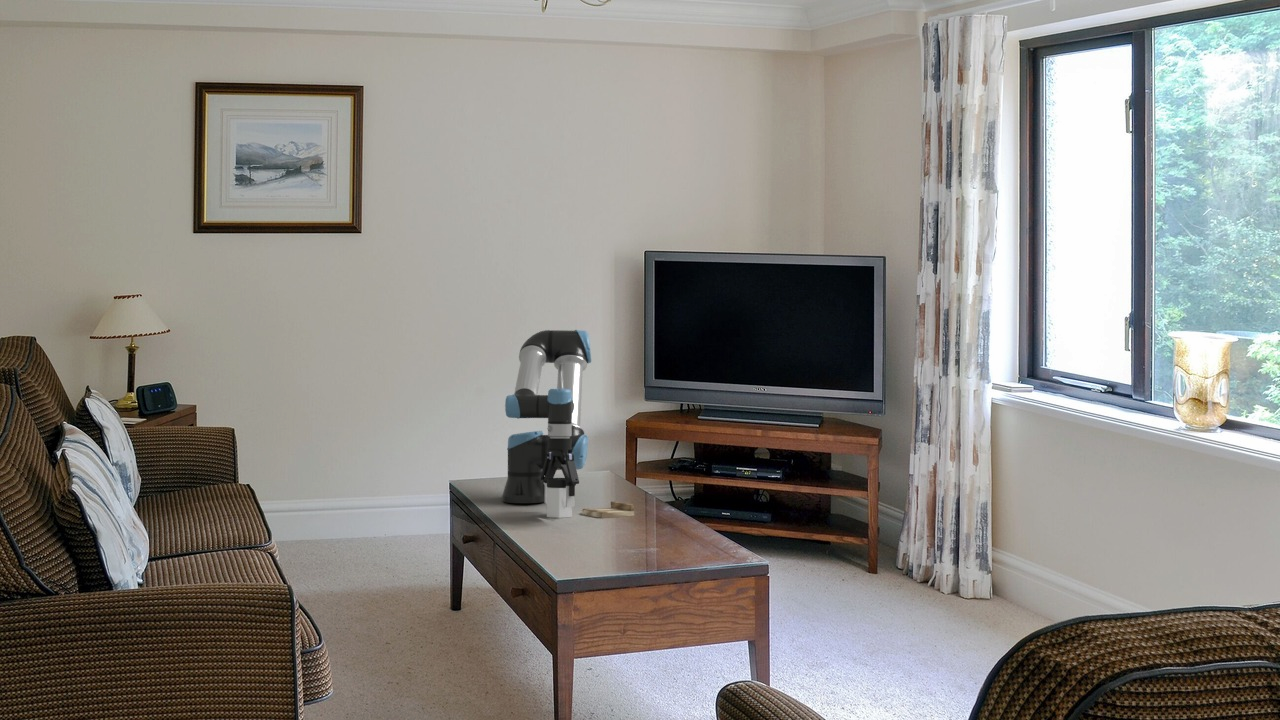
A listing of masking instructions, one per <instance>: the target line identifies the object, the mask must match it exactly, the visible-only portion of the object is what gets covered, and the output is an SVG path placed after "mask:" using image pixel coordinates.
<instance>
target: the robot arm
mask: <svg viewBox="0 0 1280 720" xmlns="http://www.w3.org/2000/svg"><path fill="white" fill-rule="evenodd" d="M518 360H519V364H520V365H519V367H518V368H519V369H518V372H517V378H516V383H515V387H514V392H513V394H509V395H507V396H506V397H505V404H504V407H505V408H504V410H505V411H504V412H505V416H506V417H508V418H510V419H511V418H512V419H517V420H518V419H519V420H520V419H547V434H544V433H543V430H536V431H535V430H533V431H528V432H527V431H526V432H520V433H515V434H511V435H510V436H509V437H508V438H507V449H506V450H507V480H506V482H505V485H504V489H503V491H502V494H501V500H502V502H503V503H509V504H537V503H538V504H539V503H544V504H545V505H547V479H548V478H555V474H556V473H557V471H560V470H561V471H562V474H563V478H565V480H566V482H567V484H566V507H572V508H574V507H575V506H576V505H575V503H576V502H575V501H576V500H575V499H576V498H575V496H576V495H575V494H576V491H575V490H576V489H575V488H576V486H577V484H578V485H579V484H580V479H579V475H578V473H577V472H578V470H579V471H580V470H582V469H583V468H584V467H585V465H586V462H587V458H588V451H589V449H588V448H589V436H588V435H586V434H585V431H584V429H583V427H581V415H582V413H581V411H582V394H583V393H582V391H583V389H582V388H583V372H584V371H585V370H586V369H587V366H588V364H590V363H592V353H591V343H590V336H589V333H588V332H587V331H586V330H578V329H574V330H564V329H563V330H560V329H558V330H554V329H553V330H550V329H547V330H546V329H545V330H541V331H539V332H536V333H535V334H533V335H531V336H530V337H528V339H527V340H525V342H524V343H523V344H522V345H521V347H520V350H519V353H518ZM545 364H553V365H554V367H555V369H556V370H557V384H556V388H550V389H548V391H547V392H548V393H547V394H546V395H545V394H541V395H540V394H538V391H539V388H540V386H539V385H540V382H541V376H542V369H543V367H544V366H545Z"/></svg>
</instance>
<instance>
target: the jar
mask: <svg viewBox="0 0 1280 720" xmlns="http://www.w3.org/2000/svg"><path fill="white" fill-rule="evenodd" d="M566 484H567V482H566V480H565V477H553V478H548V479H547V504H546V518H551V519H566V518H568V519H569V518H572V516H573V512H572V511H573V507H566Z"/></svg>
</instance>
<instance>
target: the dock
mask: <svg viewBox="0 0 1280 720" xmlns="http://www.w3.org/2000/svg"><path fill="white" fill-rule="evenodd" d="M581 511H582V513H583V514H582V515H584V514H585V515H584V516H589V517H594V518H599V519H610V518H620V517H621V518H622V517H623V518H624V517H635V504H632V503H626V502H625V503H624V502H619V501H610V507H605V508H603V507H602V508H582V510H581Z"/></svg>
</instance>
